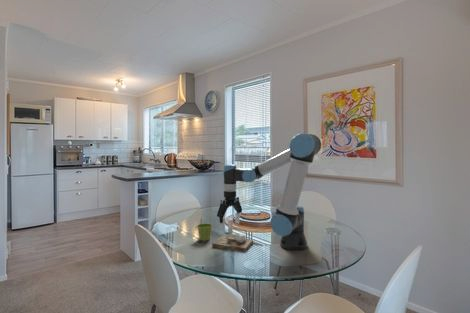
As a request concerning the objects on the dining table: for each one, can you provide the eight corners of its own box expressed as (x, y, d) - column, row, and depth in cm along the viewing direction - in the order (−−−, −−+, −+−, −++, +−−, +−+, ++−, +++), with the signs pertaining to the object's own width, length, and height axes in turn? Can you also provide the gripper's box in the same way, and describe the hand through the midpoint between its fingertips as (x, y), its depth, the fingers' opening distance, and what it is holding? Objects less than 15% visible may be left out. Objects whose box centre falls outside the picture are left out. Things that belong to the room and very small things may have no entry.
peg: (247, 240, 157) (247, 221, 157) (241, 243, 153) (241, 224, 152) (228, 235, 167) (228, 217, 166) (222, 237, 162) (222, 219, 162)
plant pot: (198, 242, 161) (197, 228, 160) (196, 237, 170) (195, 224, 169) (213, 241, 163) (213, 227, 163) (210, 236, 172) (210, 222, 172)
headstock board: (253, 243, 159) (253, 239, 159) (244, 253, 145) (244, 248, 144) (222, 239, 166) (222, 235, 166) (210, 248, 152) (210, 244, 152)
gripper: (238, 187, 173) (238, 220, 174) (210, 192, 154) (210, 229, 155) (247, 188, 168) (247, 222, 169) (220, 194, 149) (220, 231, 150)
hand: (230, 225), depth 162 cm, fingers open, 13 cm apart
